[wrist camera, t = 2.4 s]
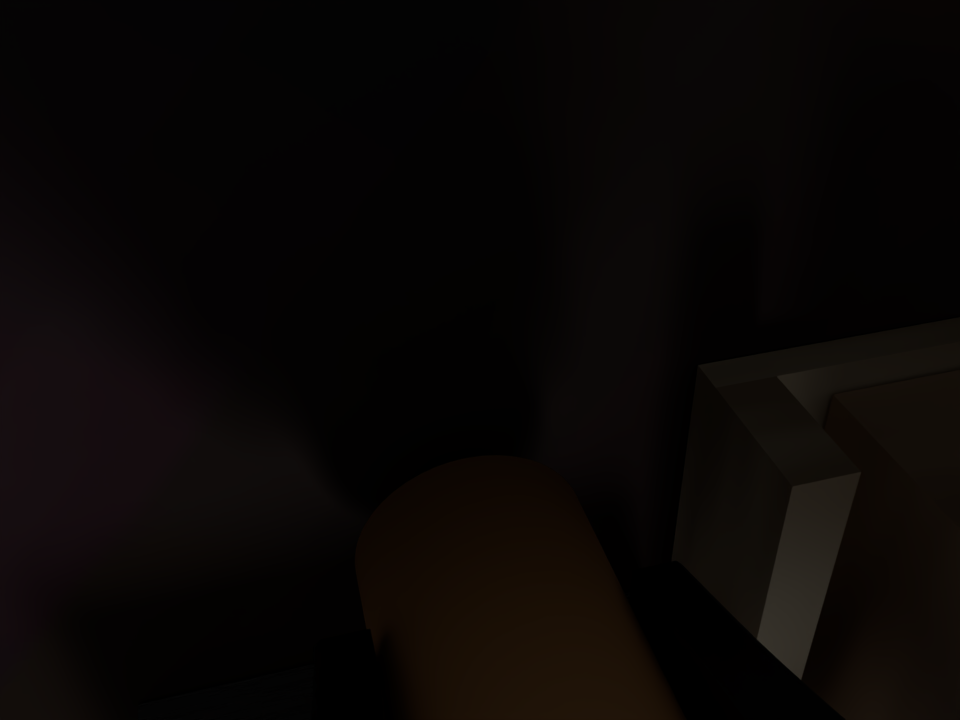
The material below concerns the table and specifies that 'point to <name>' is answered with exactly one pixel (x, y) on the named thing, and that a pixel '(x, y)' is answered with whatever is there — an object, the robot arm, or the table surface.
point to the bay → (784, 474)
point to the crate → (895, 557)
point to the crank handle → (501, 602)
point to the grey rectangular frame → (243, 699)
